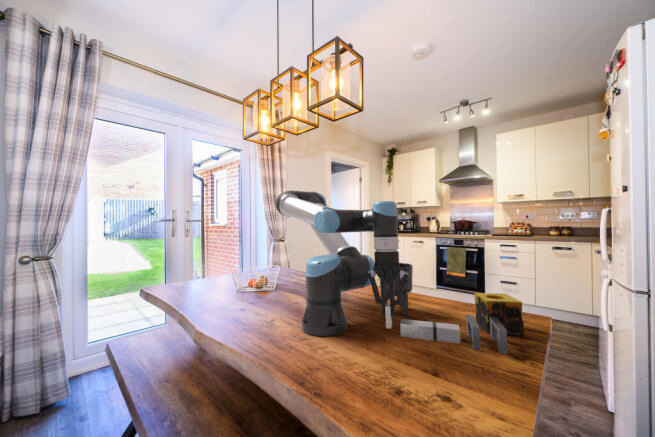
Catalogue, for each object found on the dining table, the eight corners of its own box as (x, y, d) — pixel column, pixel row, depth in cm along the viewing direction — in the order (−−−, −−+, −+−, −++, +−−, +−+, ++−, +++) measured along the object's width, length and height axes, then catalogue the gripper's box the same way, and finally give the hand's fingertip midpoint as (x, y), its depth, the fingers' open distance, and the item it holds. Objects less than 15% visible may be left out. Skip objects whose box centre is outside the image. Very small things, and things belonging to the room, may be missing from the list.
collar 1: (473, 350, 68) (472, 326, 68) (467, 334, 78) (466, 314, 78) (480, 350, 68) (479, 327, 68) (473, 335, 77) (472, 315, 77)
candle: (525, 336, 76) (523, 302, 76) (487, 334, 78) (485, 300, 78) (508, 323, 86) (507, 293, 86) (475, 322, 88) (473, 292, 88)
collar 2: (500, 353, 66) (499, 329, 66) (490, 337, 75) (489, 316, 76) (507, 354, 65) (506, 330, 66) (497, 338, 75) (496, 317, 75)
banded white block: (400, 337, 77) (400, 323, 78) (401, 331, 81) (401, 318, 81) (460, 344, 72) (460, 329, 72) (458, 338, 76) (458, 324, 76)
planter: (387, 303, 110) (386, 261, 111) (418, 308, 103) (416, 263, 103) (374, 312, 100) (372, 265, 100) (407, 318, 92) (405, 268, 93)
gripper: (363, 251, 80) (365, 328, 79) (407, 251, 76) (410, 333, 75) (368, 249, 87) (370, 320, 86) (408, 249, 83) (411, 324, 82)
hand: (389, 326), depth 80 cm, fingers closed
